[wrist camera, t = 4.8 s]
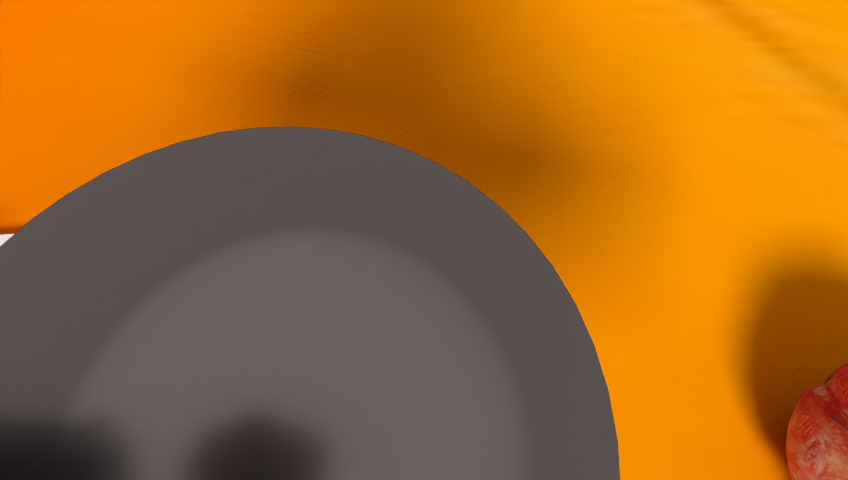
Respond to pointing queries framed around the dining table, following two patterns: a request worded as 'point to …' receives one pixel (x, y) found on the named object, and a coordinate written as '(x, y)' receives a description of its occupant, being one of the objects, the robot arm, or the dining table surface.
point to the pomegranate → (820, 431)
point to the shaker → (291, 325)
